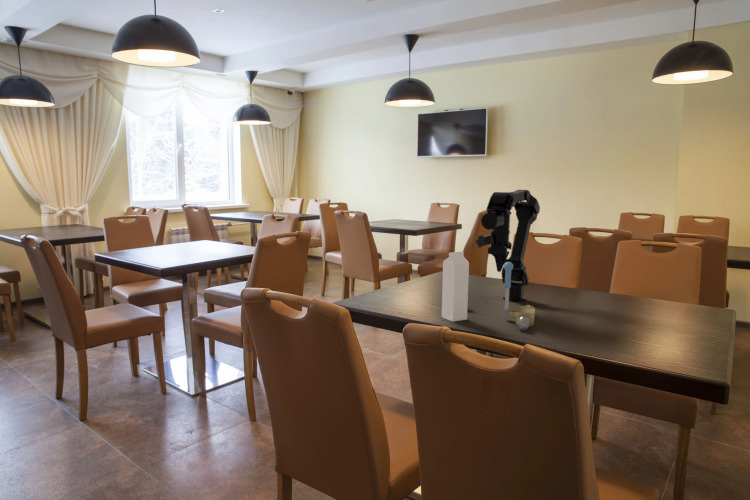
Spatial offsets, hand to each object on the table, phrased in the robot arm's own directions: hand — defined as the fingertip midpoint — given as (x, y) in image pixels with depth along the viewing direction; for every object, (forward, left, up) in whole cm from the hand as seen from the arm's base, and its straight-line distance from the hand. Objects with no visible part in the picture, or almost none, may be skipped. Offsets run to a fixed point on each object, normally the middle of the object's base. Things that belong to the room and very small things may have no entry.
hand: (499, 271), depth 178 cm
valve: (+8, +17, -13) cm, 23 cm away
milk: (+24, +3, -13) cm, 28 cm away
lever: (+11, +14, -12) cm, 21 cm away
